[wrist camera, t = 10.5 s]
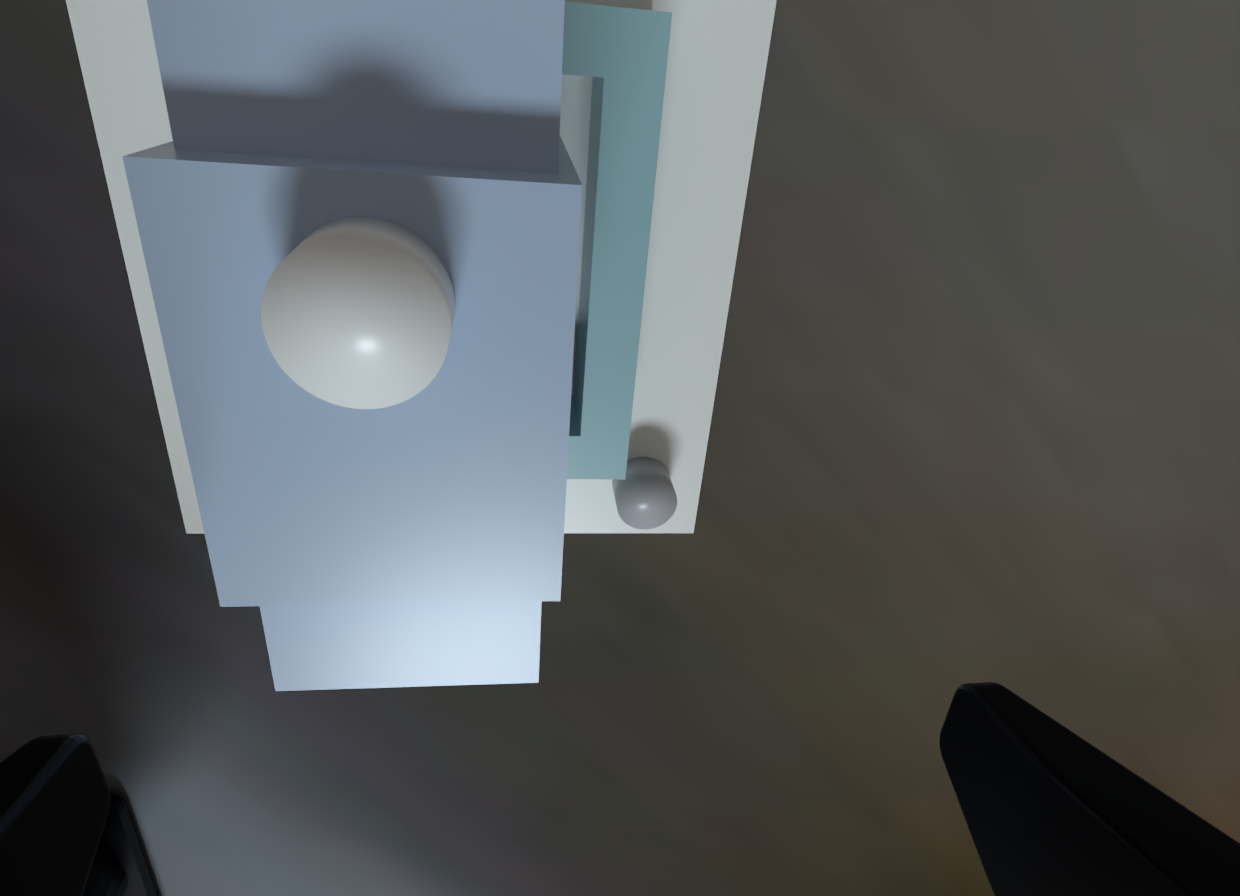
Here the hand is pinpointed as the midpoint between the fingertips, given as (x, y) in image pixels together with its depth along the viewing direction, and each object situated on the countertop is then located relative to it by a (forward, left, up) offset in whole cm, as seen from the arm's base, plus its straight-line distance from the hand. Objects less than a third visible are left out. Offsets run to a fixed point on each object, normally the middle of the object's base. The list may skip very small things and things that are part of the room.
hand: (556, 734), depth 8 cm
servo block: (+3, +2, -10) cm, 10 cm away
